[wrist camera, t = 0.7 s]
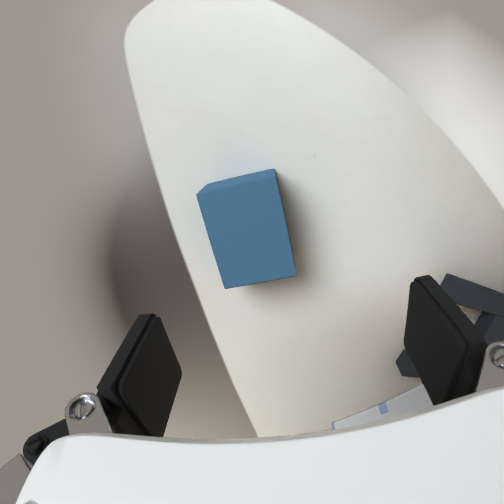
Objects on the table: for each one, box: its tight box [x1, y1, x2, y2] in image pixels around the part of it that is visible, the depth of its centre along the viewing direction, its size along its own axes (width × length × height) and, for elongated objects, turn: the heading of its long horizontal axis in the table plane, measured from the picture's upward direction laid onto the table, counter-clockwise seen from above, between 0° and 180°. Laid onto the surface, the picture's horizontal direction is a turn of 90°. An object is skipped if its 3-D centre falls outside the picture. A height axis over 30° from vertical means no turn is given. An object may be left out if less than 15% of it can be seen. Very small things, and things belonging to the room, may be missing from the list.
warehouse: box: [332, 384, 433, 429], centre depth 35 cm, size 30×14×8 cm, turn 30°
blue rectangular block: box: [196, 169, 297, 289], centre depth 23 cm, size 6×8×4 cm
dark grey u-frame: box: [396, 274, 504, 378], centre depth 28 cm, size 12×14×2 cm
